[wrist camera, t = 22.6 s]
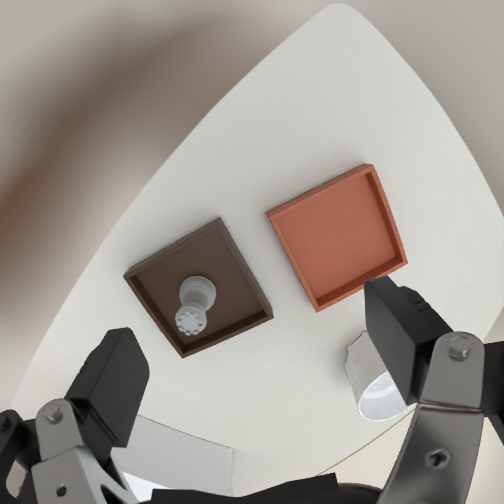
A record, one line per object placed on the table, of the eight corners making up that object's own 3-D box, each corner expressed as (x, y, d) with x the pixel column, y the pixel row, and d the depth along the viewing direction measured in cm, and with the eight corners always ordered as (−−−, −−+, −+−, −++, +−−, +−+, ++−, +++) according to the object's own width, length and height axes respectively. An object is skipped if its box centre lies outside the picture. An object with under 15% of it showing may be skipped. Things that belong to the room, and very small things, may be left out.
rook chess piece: (189, 311, 39) (179, 348, 31) (174, 280, 37) (160, 312, 30) (222, 301, 38) (218, 336, 31) (208, 269, 37) (201, 299, 29)
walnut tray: (129, 268, 37) (122, 276, 35) (220, 217, 36) (219, 222, 33) (185, 347, 41) (182, 358, 39) (271, 307, 40) (274, 318, 37)
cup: (334, 381, 44) (352, 427, 35) (341, 327, 41) (365, 372, 32) (392, 371, 45) (417, 411, 35) (404, 319, 41) (436, 357, 32)
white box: (161, 515, 60) (156, 550, 48) (90, 489, 56) (79, 524, 44) (233, 448, 49) (233, 504, 37) (122, 407, 45) (102, 463, 33)
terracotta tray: (265, 212, 36) (268, 217, 33) (364, 163, 34) (373, 164, 32) (311, 303, 40) (316, 312, 37) (399, 256, 38) (408, 263, 36)
